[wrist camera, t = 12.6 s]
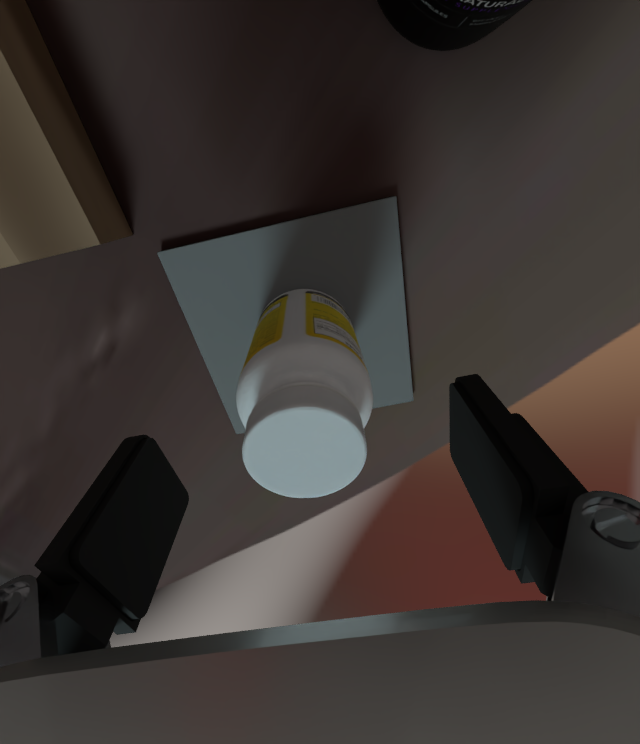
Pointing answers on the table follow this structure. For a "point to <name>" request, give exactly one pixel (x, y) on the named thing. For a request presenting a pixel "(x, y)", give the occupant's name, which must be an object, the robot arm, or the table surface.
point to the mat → (299, 271)
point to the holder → (45, 155)
